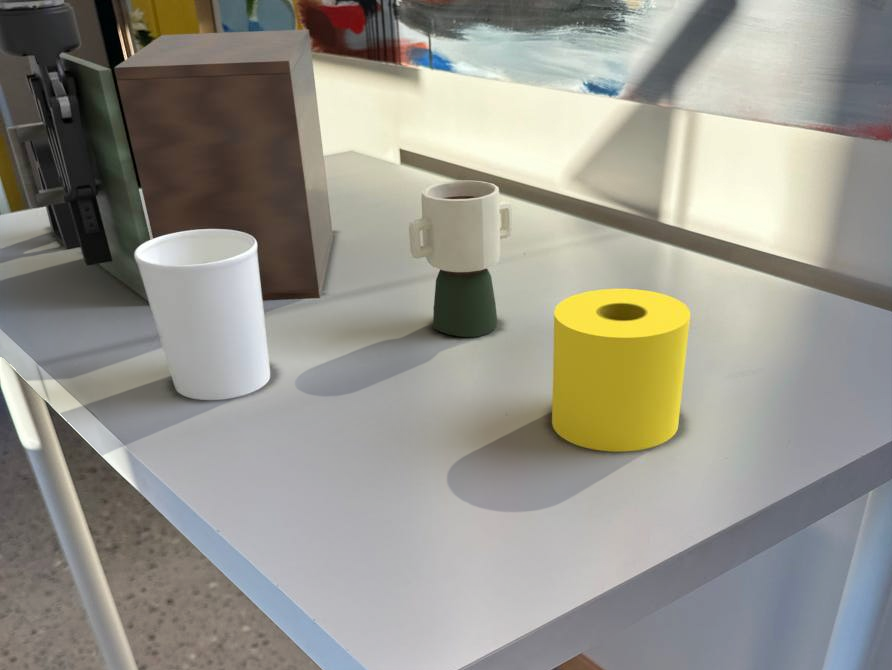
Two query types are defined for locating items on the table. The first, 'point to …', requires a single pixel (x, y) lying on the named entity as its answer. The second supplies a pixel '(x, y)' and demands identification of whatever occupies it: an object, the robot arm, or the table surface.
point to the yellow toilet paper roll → (618, 368)
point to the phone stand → (50, 179)
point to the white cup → (208, 310)
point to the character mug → (462, 252)
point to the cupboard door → (97, 168)
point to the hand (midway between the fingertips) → (98, 261)
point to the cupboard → (234, 147)
